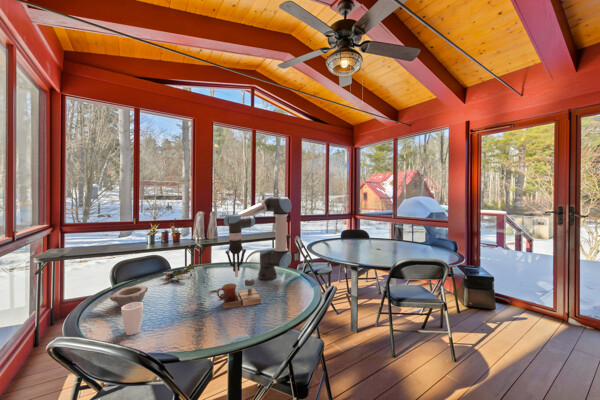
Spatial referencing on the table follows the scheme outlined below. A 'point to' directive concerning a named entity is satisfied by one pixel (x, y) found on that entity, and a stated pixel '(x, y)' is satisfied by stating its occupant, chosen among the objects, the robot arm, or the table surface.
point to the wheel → (249, 282)
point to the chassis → (243, 298)
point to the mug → (228, 293)
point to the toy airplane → (179, 273)
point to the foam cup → (132, 317)
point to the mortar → (129, 295)
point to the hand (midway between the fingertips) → (236, 276)
